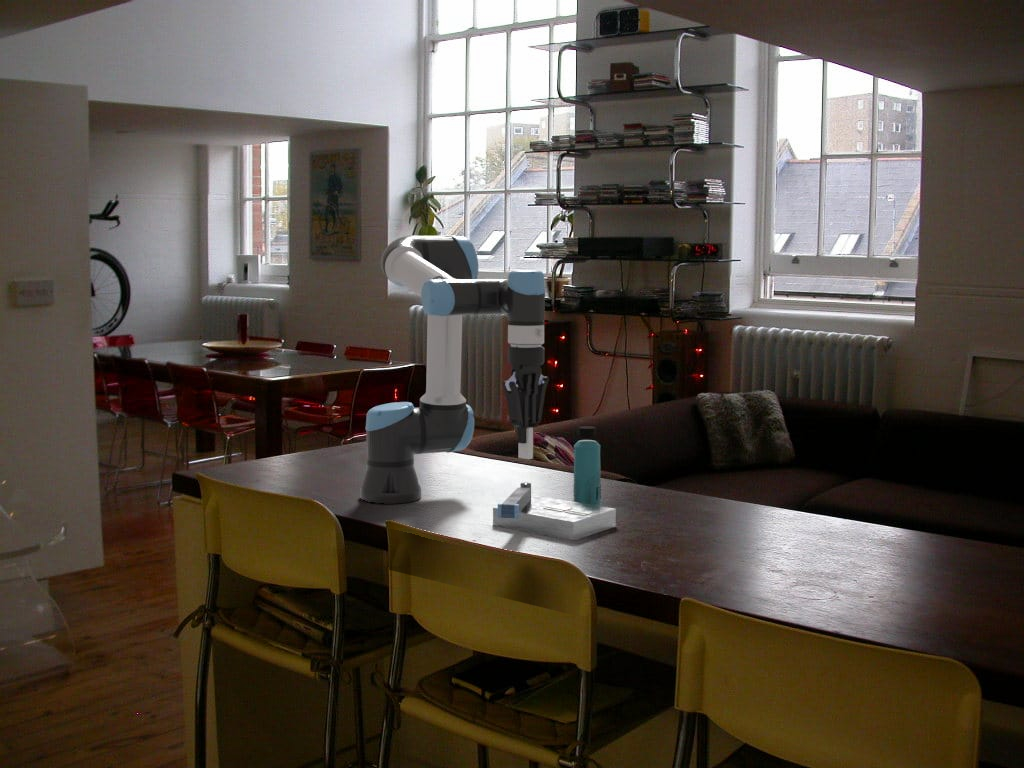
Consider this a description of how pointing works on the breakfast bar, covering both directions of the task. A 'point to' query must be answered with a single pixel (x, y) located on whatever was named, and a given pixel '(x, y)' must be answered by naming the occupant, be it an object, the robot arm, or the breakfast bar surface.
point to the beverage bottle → (587, 468)
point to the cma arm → (514, 503)
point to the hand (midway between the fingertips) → (525, 458)
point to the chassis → (559, 518)
